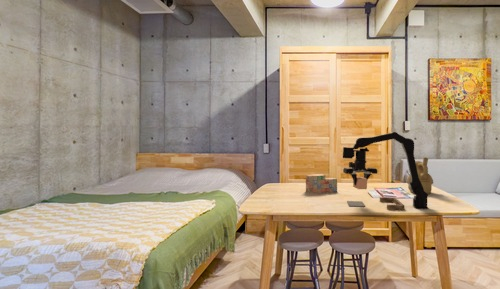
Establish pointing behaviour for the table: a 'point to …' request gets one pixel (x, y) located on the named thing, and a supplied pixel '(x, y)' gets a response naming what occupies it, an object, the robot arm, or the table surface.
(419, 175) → the ceramic vessel
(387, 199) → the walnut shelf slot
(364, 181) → the terracotta blank
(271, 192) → the table surface
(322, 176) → the stack of blocks
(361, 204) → the charcoal mat
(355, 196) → the table surface
